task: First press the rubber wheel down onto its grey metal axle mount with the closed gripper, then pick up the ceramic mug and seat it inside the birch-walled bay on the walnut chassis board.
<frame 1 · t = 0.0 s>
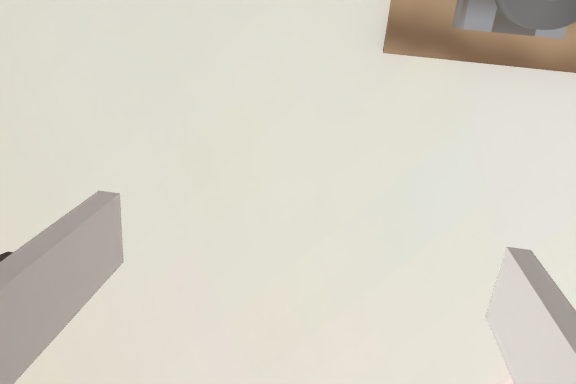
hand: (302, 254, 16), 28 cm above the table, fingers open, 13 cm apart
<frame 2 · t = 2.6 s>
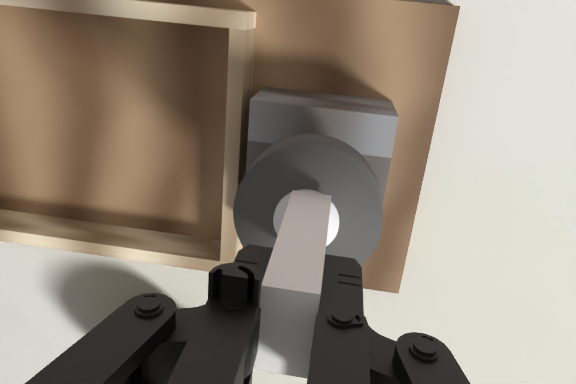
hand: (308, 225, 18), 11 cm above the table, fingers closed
wheel: (312, 192, 21), point 7 cm above the table, slide at 0.1 cm, touching gripper
chassis board: (183, 131, 28), on the table
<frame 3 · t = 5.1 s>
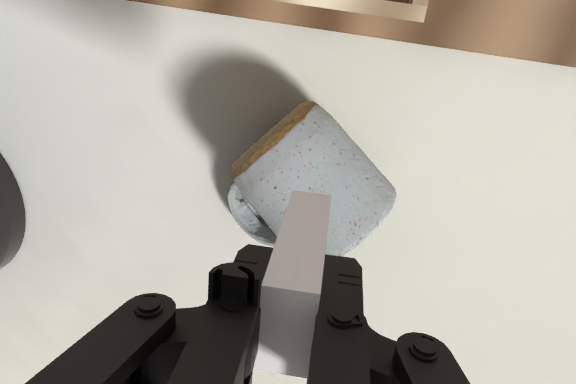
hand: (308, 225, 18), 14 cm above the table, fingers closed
ceramic mug: (303, 177, 33), on the table
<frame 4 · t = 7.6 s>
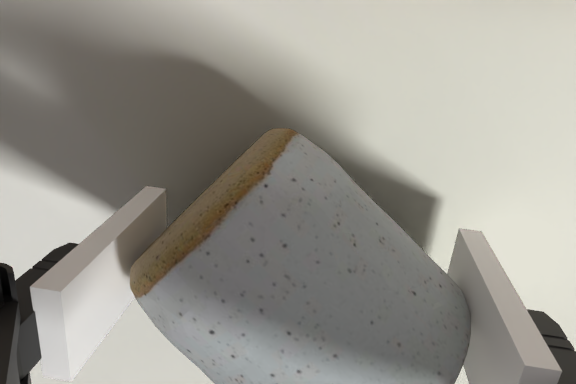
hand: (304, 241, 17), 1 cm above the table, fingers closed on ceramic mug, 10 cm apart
ceramic mug: (286, 255, 19), on the table, touching gripper
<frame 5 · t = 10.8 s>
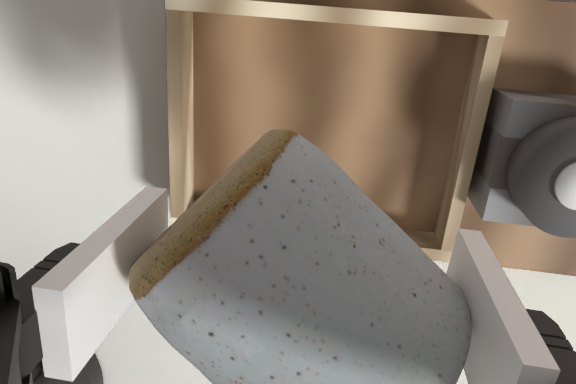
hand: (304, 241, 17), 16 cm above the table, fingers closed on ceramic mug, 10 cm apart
wheel: (558, 166, 26), point 5 cm above the table, slide at 2.8 cm
chassis board: (396, 130, 31), on the table
ceramic mug: (286, 256, 19), point 14 cm above the table, touching gripper
when the fingers open (4 cm above the table, at t = 13.6 s): ceramic mug drops 2 cm, resting on chassis board.
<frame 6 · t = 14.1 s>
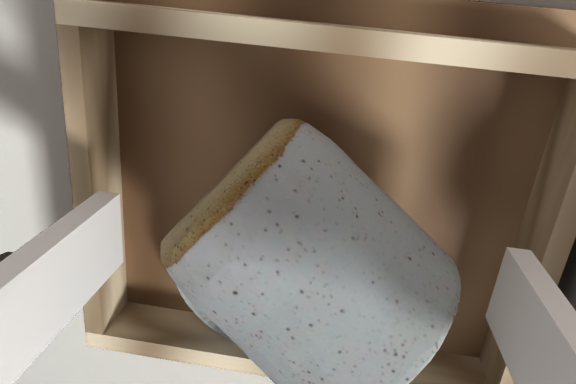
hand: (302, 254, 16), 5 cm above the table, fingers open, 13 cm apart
chassis board: (427, 209, 20), on the table
ceramic mug: (295, 236, 21), point 1 cm above the table, touching chassis board
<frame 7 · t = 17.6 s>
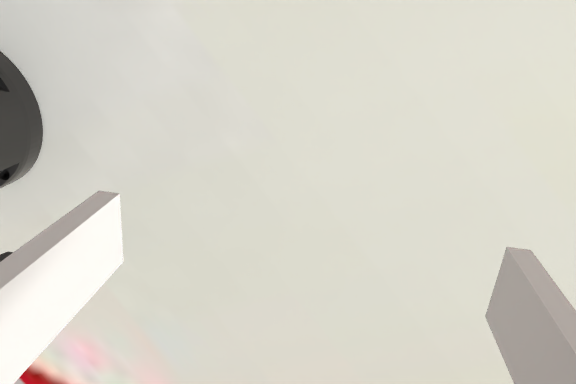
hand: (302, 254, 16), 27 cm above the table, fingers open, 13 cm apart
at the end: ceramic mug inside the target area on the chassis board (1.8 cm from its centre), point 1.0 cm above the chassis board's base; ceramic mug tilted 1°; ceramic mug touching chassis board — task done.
